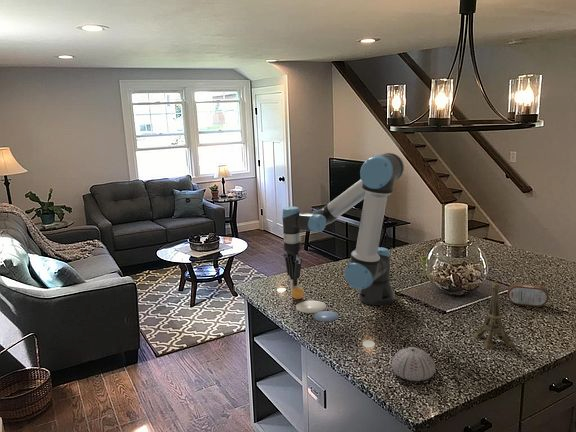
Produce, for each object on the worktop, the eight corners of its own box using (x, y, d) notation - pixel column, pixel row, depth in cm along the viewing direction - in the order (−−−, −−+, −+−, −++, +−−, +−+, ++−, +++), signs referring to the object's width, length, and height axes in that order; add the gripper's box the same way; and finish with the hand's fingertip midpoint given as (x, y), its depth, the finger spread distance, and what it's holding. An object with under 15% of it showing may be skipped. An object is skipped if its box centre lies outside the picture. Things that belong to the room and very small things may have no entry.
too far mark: (341, 312, 195) (341, 312, 195) (334, 322, 186) (334, 322, 186) (317, 310, 199) (317, 309, 199) (310, 320, 189) (310, 319, 189)
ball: (302, 292, 216) (307, 290, 211) (297, 302, 213) (302, 300, 208) (292, 285, 215) (297, 283, 210) (287, 295, 212) (292, 293, 207)
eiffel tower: (471, 335, 170) (473, 268, 165) (500, 332, 171) (503, 266, 166) (486, 349, 160) (488, 278, 155) (516, 346, 161) (519, 276, 156)
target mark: (329, 302, 206) (329, 301, 206) (321, 314, 194) (321, 313, 194) (301, 299, 211) (301, 299, 211) (291, 311, 199) (291, 310, 199)
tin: (547, 305, 192) (549, 285, 190) (548, 308, 189) (549, 288, 187) (506, 301, 198) (507, 282, 196) (506, 304, 195) (507, 284, 193)
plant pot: (441, 279, 227) (441, 262, 225) (421, 279, 229) (421, 261, 227) (439, 272, 236) (439, 256, 234) (419, 272, 238) (419, 256, 236)
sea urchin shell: (386, 364, 154) (386, 341, 152) (427, 361, 155) (427, 338, 153) (397, 387, 141) (397, 362, 139) (442, 383, 142) (443, 358, 140)
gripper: (277, 239, 214) (280, 289, 219) (291, 246, 202) (293, 298, 207) (292, 237, 217) (294, 285, 222) (306, 243, 206) (308, 294, 211)
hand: (294, 291), depth 215 cm, fingers closed
